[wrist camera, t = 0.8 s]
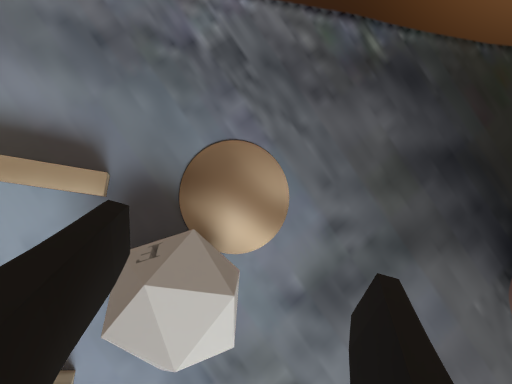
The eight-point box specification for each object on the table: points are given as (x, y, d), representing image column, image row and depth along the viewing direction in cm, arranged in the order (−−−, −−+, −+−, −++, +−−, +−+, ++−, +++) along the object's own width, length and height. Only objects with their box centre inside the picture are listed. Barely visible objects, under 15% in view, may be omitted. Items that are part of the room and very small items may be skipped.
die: (238, 243, 30) (202, 192, 22) (266, 355, 26) (235, 347, 18) (143, 273, 30) (70, 234, 22) (156, 388, 26) (74, 396, 18)
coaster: (278, 258, 31) (281, 259, 30) (169, 246, 28) (170, 247, 28) (293, 153, 32) (295, 152, 31) (188, 130, 29) (189, 129, 28)
